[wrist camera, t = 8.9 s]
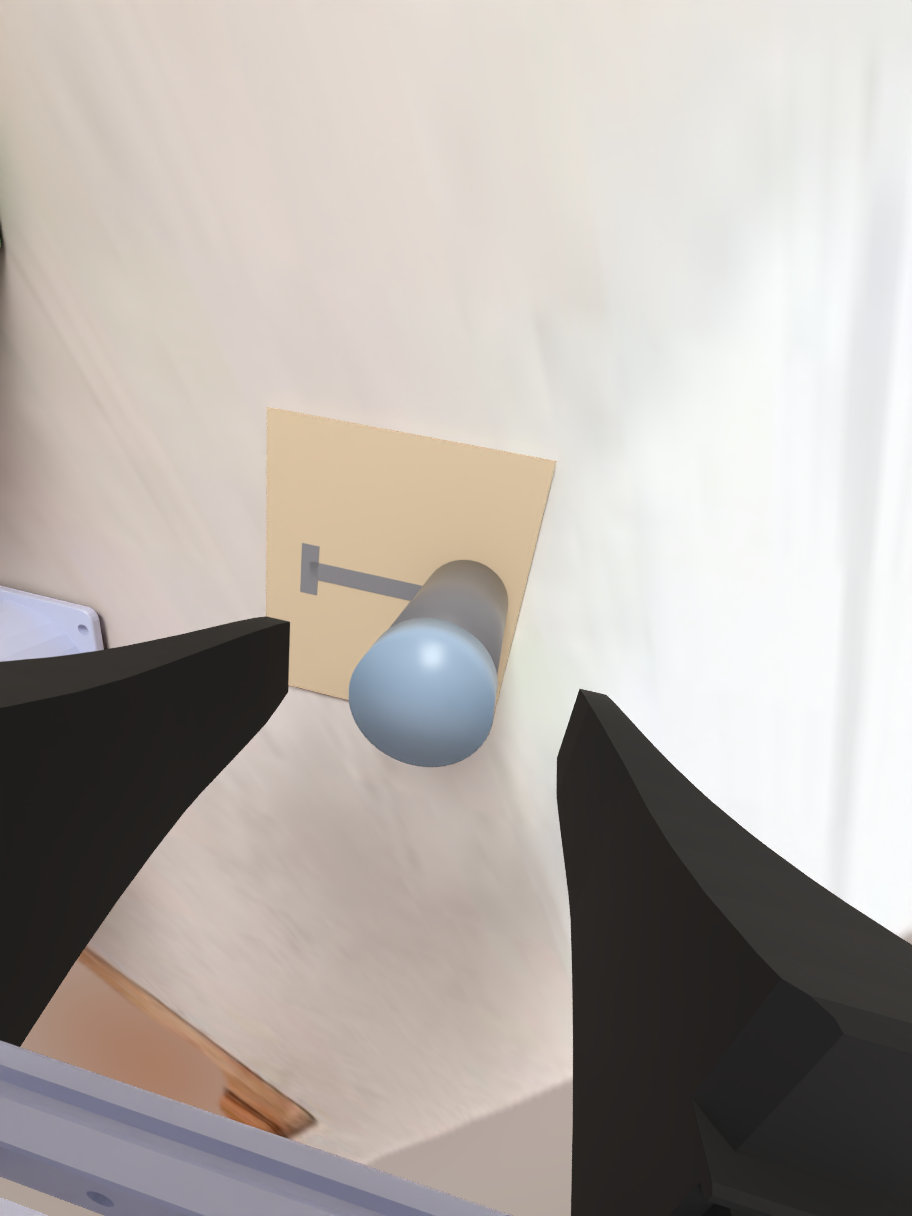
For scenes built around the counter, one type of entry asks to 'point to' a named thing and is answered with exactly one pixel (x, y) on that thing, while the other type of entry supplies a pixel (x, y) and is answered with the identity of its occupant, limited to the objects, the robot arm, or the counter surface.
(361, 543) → the tan square board
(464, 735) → the marker
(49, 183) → the counter surface
